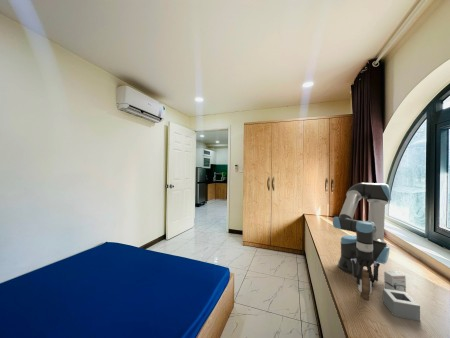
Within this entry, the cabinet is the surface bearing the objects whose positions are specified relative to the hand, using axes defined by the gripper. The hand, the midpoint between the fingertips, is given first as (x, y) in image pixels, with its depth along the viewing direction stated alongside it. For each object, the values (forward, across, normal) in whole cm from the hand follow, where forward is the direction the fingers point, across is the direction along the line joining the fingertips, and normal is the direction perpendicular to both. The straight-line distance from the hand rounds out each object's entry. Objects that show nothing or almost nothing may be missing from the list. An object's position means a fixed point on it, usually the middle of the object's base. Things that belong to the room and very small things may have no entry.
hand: (364, 291), depth 101 cm
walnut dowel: (+4, 0, 0) cm, 4 cm away
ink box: (+4, +18, +9) cm, 21 cm away
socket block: (+4, +13, -6) cm, 15 cm away
